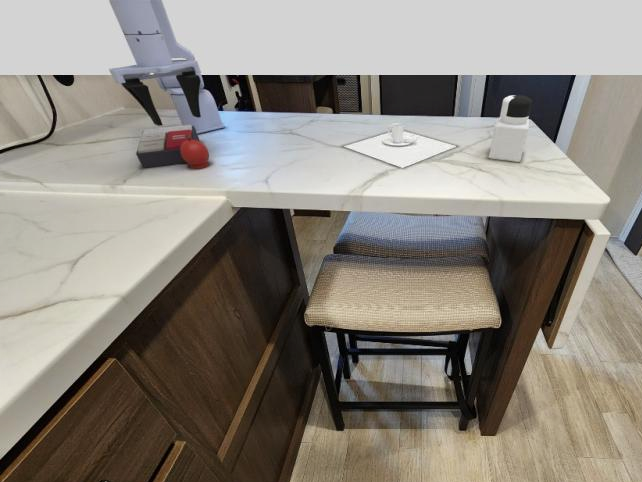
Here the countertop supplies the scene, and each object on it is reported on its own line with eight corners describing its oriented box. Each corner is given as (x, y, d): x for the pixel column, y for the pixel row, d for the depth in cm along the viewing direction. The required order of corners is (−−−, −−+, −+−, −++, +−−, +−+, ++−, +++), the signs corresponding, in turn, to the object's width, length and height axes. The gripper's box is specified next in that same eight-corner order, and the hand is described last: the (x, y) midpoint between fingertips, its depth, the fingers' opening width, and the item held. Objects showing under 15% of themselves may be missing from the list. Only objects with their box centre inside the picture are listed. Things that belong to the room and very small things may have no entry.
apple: (205, 159, 74) (193, 128, 69) (217, 165, 71) (206, 133, 67) (182, 166, 71) (168, 134, 66) (193, 172, 68) (180, 139, 64)
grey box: (133, 150, 67) (140, 126, 76) (144, 171, 70) (150, 145, 79) (192, 143, 70) (192, 121, 80) (200, 163, 73) (200, 140, 83)
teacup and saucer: (422, 142, 83) (423, 125, 81) (400, 150, 79) (401, 132, 76) (397, 135, 88) (397, 118, 85) (375, 142, 83) (375, 124, 81)
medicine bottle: (522, 152, 79) (536, 94, 71) (520, 162, 74) (535, 102, 66) (492, 148, 81) (503, 92, 73) (488, 158, 76) (499, 98, 68)
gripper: (103, 38, 51) (148, 132, 60) (195, 32, 59) (222, 116, 68) (87, 35, 54) (132, 125, 63) (177, 30, 62) (205, 110, 71)
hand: (178, 120), depth 66 cm, fingers open, 7 cm apart
